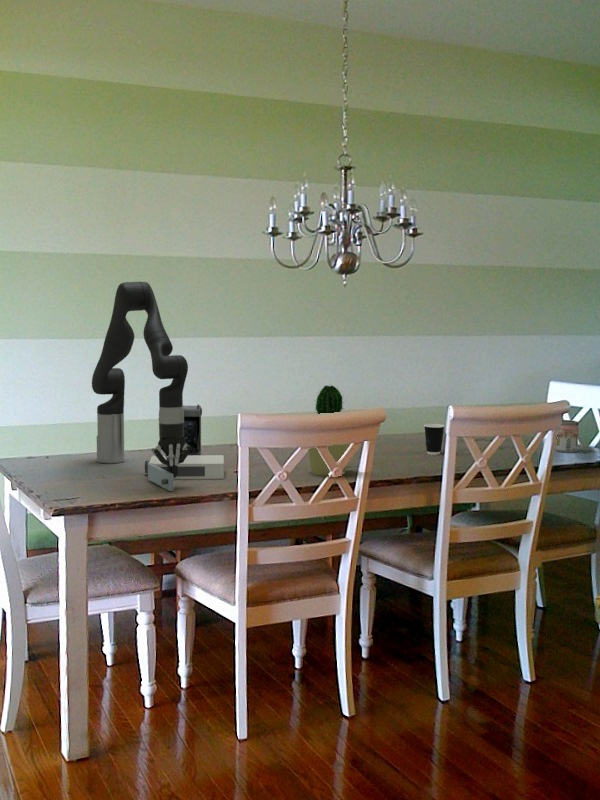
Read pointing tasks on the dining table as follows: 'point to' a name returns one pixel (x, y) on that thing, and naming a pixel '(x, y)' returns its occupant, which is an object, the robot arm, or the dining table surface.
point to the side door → (160, 477)
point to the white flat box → (195, 467)
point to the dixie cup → (434, 438)
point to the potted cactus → (327, 403)
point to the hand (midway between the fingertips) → (172, 477)
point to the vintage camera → (192, 428)
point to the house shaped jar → (568, 437)
